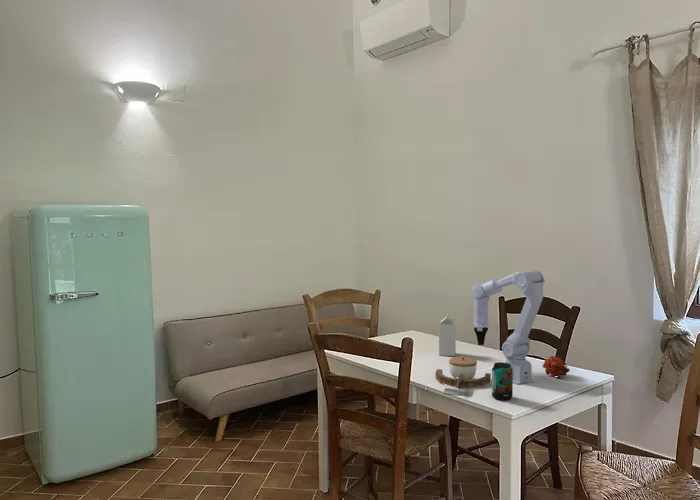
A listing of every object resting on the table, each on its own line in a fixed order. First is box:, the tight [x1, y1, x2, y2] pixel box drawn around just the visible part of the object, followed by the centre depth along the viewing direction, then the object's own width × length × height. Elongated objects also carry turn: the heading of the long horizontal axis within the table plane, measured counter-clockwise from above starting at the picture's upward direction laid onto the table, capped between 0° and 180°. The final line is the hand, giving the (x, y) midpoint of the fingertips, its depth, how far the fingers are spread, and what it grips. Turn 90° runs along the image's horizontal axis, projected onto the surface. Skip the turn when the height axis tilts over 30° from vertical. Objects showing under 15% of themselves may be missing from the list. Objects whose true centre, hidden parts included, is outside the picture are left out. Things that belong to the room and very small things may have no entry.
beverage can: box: [491, 361, 513, 401], centre depth 184 cm, size 7×7×12 cm
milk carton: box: [438, 313, 457, 357], centre depth 246 cm, size 7×7×19 cm
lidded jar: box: [448, 355, 478, 380], centre depth 206 cm, size 11×11×9 cm
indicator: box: [456, 374, 463, 388], centre depth 194 cm, size 15×2×2 cm, turn 162°
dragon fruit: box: [542, 355, 571, 377], centre depth 210 cm, size 8×8×12 cm
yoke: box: [434, 368, 492, 397], centre depth 199 cm, size 23×21×2 cm
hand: (480, 344), depth 221 cm, fingers closed
